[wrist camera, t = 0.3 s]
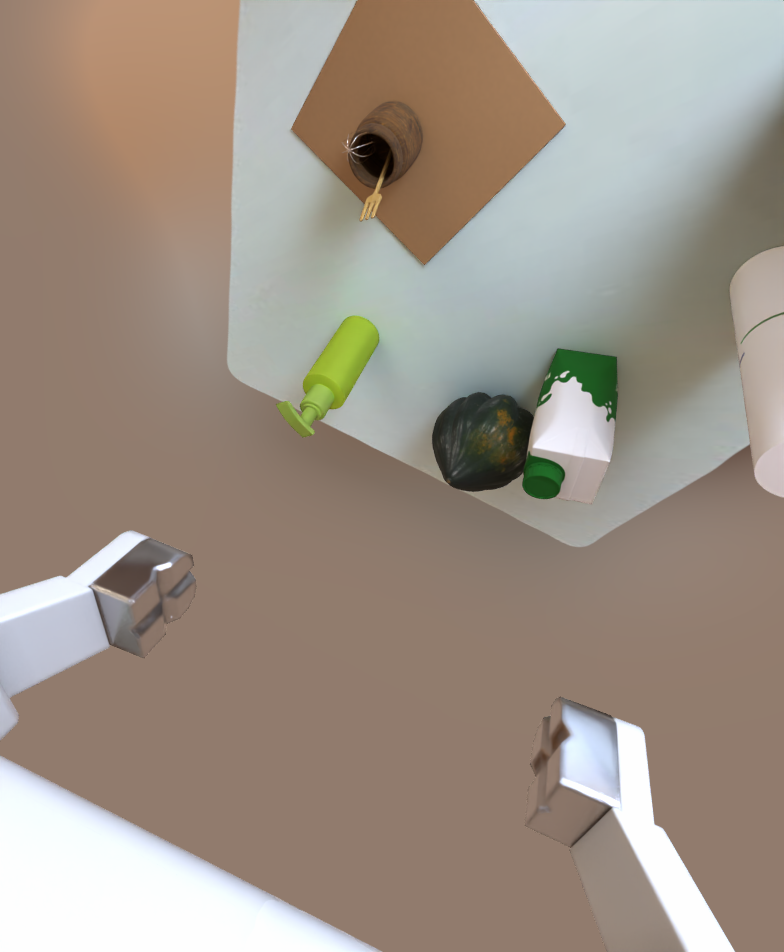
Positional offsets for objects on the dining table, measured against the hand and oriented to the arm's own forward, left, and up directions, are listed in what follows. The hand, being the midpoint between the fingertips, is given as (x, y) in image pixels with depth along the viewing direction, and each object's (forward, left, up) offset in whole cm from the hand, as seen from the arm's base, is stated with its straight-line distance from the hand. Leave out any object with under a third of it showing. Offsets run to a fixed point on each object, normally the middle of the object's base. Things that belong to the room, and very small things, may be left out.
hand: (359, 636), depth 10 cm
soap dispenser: (+39, +3, -52) cm, 65 cm away
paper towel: (+14, -7, -51) cm, 54 cm away
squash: (+34, +26, -52) cm, 67 cm away
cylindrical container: (-2, +28, -52) cm, 59 cm away
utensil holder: (+16, -8, -51) cm, 55 cm away
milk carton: (+19, +27, -52) cm, 61 cm away
